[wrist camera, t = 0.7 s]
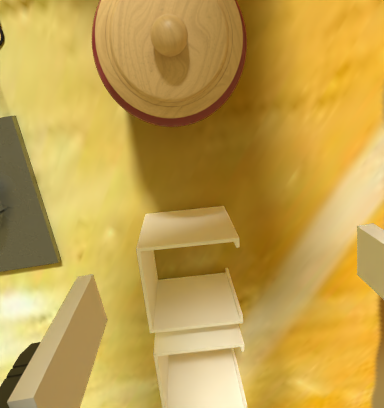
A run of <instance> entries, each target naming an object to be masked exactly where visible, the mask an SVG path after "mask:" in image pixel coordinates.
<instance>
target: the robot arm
mask: <svg viewBox="0 0 384 408" xmlns="http://www.w3.org/2000/svg"><path fill="white" fill-rule="evenodd" d="M357 275H358V276H359V277H360V278H361V279H362V280H363V281H365V282H366V283H367V284H368V285H369V286H370V287H371V288H372V289H373V290H374V291H375V292H376V293H377V294H378V295H379V296H380V297H381V298H382V299H384V230H383V229H381V228H380V227H378V226H376V225H375V224H373V223H372V224H366V225H361V226H357ZM106 323H107V317H106V314H105V310H104V307H103V304H102V301H101V298H100V295H99V292H98V289H97V285H96V282H95V279H94V276H93V274H91V275H85V276H79V277H77V279H76V280H75V282H74V284H73V286H72V288H71V289H70V291H69V293H68V295H67V296H66V298H65V300H64V302H63V304H62V305H61V307H60V309H59V311H58V312H57V314H56V316H55V318H54V319H53V321H52V323H51V325H50V327H49V328H48V330H47V332H46V334H45V335H44V337H43V339H42V341H41V342H38V343H33V344H31V345H30V346H29V347H28V348H26V349H25V350H24V351H23V352H22V353H21V354H20V356H19V357H18V359H17V360H16V362H15V364H14V365H13V369H11V370H10V372H9V373H8V375H7V379H5V380H4V381H3V383H2V385H1V386H0V408H80V406H81V402H82V399H83V396H84V393H85V390H86V387H87V383H88V380H89V377H90V374H91V371H92V367H93V364H94V361H95V358H96V355H97V352H98V348H99V345H100V342H101V339H102V336H103V333H104V329H105V326H106Z"/></svg>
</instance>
